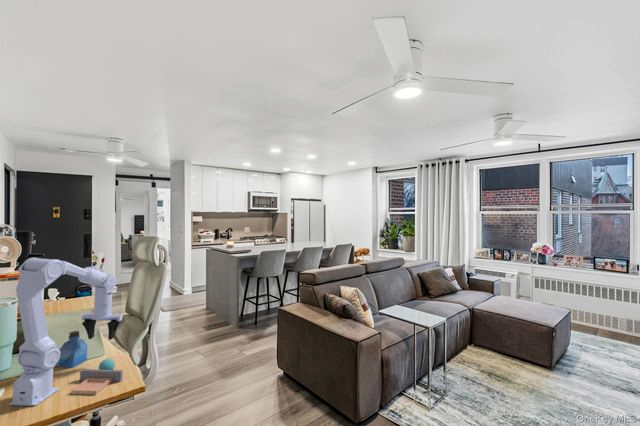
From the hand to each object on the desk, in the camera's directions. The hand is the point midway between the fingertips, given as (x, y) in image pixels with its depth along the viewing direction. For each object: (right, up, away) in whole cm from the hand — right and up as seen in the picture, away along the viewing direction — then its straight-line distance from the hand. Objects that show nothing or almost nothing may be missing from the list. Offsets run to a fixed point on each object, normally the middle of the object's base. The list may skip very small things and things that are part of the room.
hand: (101, 338), depth 125 cm
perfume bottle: (-10, -10, -1) cm, 14 cm away
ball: (+7, -10, -7) cm, 14 cm away
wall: (+8, -10, -12) cm, 18 cm away
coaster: (+9, -10, -17) cm, 21 cm away
